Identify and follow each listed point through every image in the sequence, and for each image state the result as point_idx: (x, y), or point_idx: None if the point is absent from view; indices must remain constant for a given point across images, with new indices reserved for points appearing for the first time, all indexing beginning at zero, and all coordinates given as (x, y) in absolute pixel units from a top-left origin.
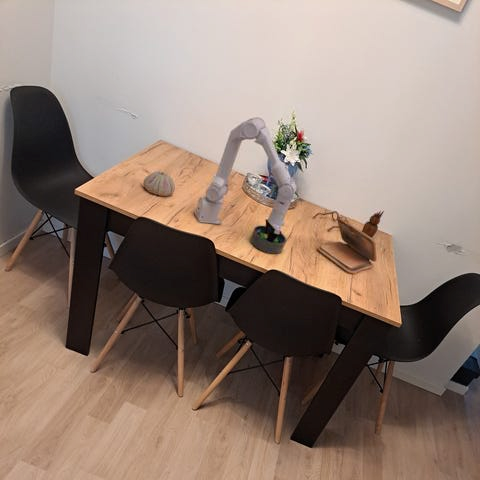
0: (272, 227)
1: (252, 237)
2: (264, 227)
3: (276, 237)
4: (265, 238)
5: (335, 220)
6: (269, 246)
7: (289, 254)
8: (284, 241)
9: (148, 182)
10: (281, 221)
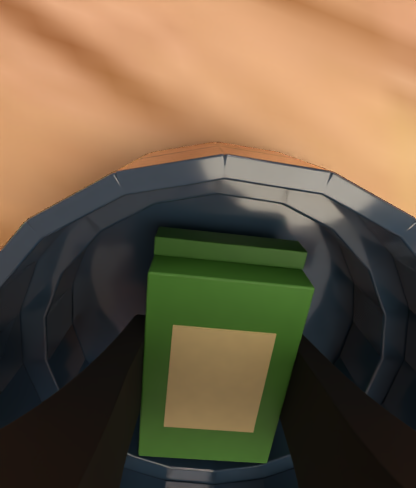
0: (107, 480)
1: (223, 482)
2: (1, 422)
3: (400, 423)
4: (269, 429)
5: None
6: (408, 398)
7: (348, 57)
8: (394, 232)
9: None
10: None
